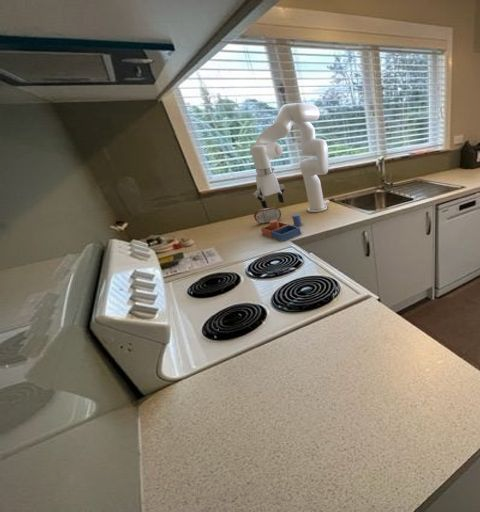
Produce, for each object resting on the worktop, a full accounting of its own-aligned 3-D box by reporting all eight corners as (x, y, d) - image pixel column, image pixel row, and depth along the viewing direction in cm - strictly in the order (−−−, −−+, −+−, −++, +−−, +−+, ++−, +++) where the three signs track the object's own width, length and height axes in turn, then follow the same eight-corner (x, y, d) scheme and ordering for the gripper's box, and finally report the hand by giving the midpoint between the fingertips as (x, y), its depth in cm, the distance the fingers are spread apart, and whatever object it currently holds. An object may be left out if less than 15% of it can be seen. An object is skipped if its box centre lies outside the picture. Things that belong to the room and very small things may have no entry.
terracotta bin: (280, 227, 165) (279, 221, 163) (290, 230, 160) (289, 224, 158) (262, 234, 157) (260, 228, 156) (272, 237, 152) (270, 231, 150)
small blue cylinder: (298, 223, 169) (296, 213, 167) (303, 224, 167) (301, 214, 164) (292, 225, 166) (290, 215, 164) (297, 227, 164) (295, 216, 161)
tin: (281, 218, 180) (278, 204, 176) (283, 219, 177) (279, 206, 174) (256, 224, 173) (252, 210, 169) (257, 225, 171) (253, 211, 167)
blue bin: (290, 230, 159) (289, 224, 158) (301, 233, 154) (299, 227, 153) (272, 237, 152) (270, 231, 150) (282, 241, 147) (281, 235, 145)
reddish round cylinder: (277, 229, 161) (274, 219, 158) (282, 231, 158) (279, 220, 156) (270, 232, 158) (267, 221, 155) (275, 233, 155) (272, 223, 153)
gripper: (275, 167, 153) (283, 199, 161) (244, 175, 142) (254, 209, 150) (284, 168, 149) (291, 201, 157) (252, 176, 137) (262, 211, 145)
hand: (273, 205), depth 153 cm, fingers open, 9 cm apart
